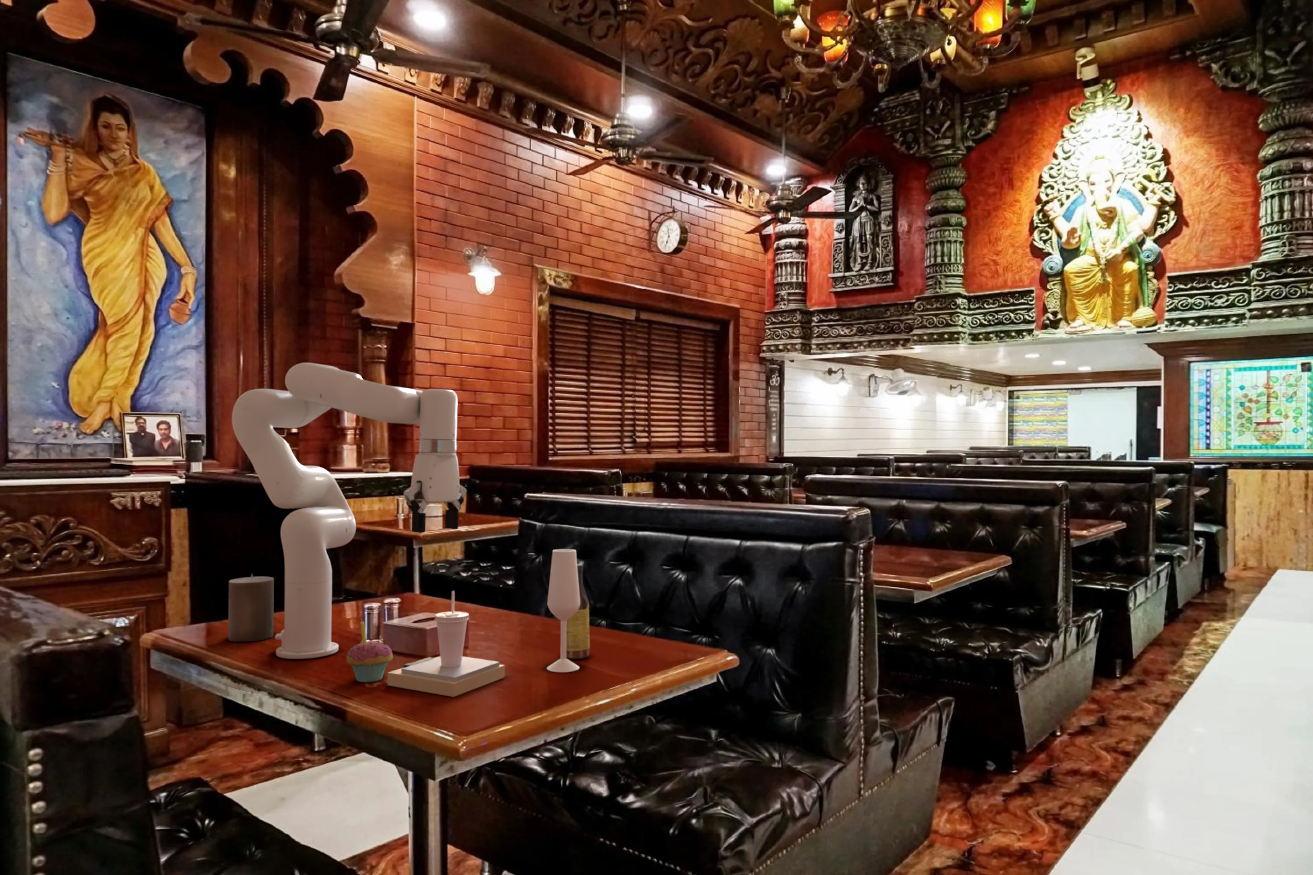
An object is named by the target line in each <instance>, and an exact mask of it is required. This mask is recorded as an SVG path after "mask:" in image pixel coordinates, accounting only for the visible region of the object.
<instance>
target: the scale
mask: <svg viewBox="0 0 1313 875" xmlns="http://www.w3.org/2000/svg"><path fill="white" fill-rule="evenodd" d="M505 677H506V665H505V664H501V663H500V661H495V660H490V659H483V658H476V657H470V656H463V655H462V662H461V665H460V666H458V667H450V668H449V667H442V666H441V658H440V655H439V656H437V657H431V656H428V657H425V658H421V659H419V660H414V661H412V662H408V663H406V664H403V667H401V668H398V669H395V670H391V671H388V672H387V684H386V686H390V687H396V688H401V689H406V690H412V691H417V692H423V693H428V694H436V695H441V696H446V697H451V698H454V697H457V696H461V695H462V694H465V693H468V692H471V691H473V690H475V689H478V688H480V687H483V686H486V685H488V684H491V683H493V682H497V681H499V680H501V679H504V678H505Z"/></svg>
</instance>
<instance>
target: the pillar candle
mask: <svg viewBox="0 0 1313 875" xmlns="http://www.w3.org/2000/svg"><path fill="white" fill-rule="evenodd" d="M253 575H254V574H253V573H251V576H249V577H248V576H247V577H238V578H233V579H229V581H228V618H227V620H228V624H227V625H228V626H227V627H228V631H227V633H228V634H227V635H228V636H227V638H228V640H229V641H231V642H237V643H240V642H257V641H263V640H267V639H270V638H273V636H274V634H275V633H274V632H275V631H274V629H275V628H274V625H275V624H274V622H275V620H274V619H275V618H274V616H275V606H274V602H275V599H274V597H275V596H274V593H275V592H274V591H275V578H274V577H271V576H253Z"/></svg>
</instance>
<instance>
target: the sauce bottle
mask: <svg viewBox="0 0 1313 875" xmlns="http://www.w3.org/2000/svg"><path fill="white" fill-rule="evenodd" d="M577 571H578V583H579V595H580V606H579V608H578V610H577V611H576V613H575V614H574V615H573V616H572V617H571V618H569V619H568V620H567V623H566V659H568V660H581V659H586V658H588V657H589V656H590V648H591V638H590V637H591V636H590V634H591V633H590V600H589V598H588V595H587V593H586V589H585V586H584V583H583V582H584V581H583V572H584V565H583V564H582V563H577ZM559 621H560V622H559V623H560V624H559V625H561V620H559Z"/></svg>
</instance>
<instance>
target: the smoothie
mask: <svg viewBox="0 0 1313 875" xmlns="http://www.w3.org/2000/svg"><path fill="white" fill-rule="evenodd" d="M455 594H456V593H455V590H452V591H451V611H442V612H438V613H436V614H435V615H434V622H436V630H437V641H438V650H439V656H440V658H441V666H442V667H449V668H450V667H458V666H460V665H461V662H462V656H463V653H464V647H465V646H464V645H465V639H466V631H467V624H468V623H467V622H468V620H469V619H470V618H469V616H470V615H469V613H468V612H466V611H457V610H455V604H456V603H455V597H456V596H455Z"/></svg>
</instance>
